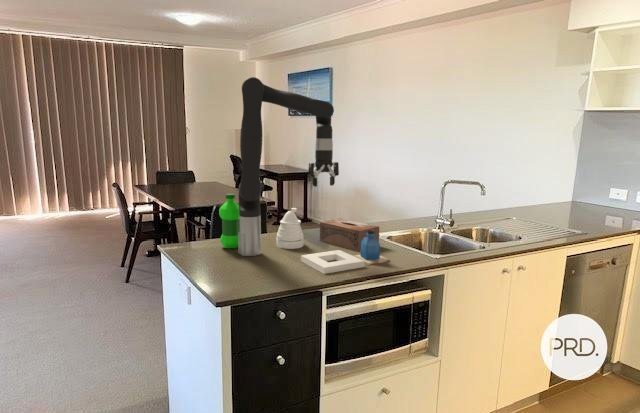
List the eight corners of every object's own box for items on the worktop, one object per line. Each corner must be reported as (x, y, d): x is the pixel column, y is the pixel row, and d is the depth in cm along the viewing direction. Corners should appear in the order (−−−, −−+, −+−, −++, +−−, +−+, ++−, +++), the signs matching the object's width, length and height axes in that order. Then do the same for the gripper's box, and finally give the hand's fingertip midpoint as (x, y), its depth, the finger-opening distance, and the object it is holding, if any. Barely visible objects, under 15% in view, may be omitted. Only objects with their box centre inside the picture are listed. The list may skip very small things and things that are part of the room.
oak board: (367, 265, 183) (367, 263, 183) (350, 257, 193) (350, 255, 193) (390, 261, 189) (390, 259, 189) (372, 254, 199) (373, 252, 199)
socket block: (324, 273, 171) (324, 267, 170) (300, 261, 187) (301, 255, 186) (364, 266, 180) (364, 261, 180) (339, 255, 196) (339, 249, 196)
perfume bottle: (366, 260, 187) (366, 232, 185) (360, 256, 193) (361, 229, 191) (379, 259, 189) (380, 231, 187) (373, 255, 194) (374, 228, 192)
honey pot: (305, 242, 218) (305, 206, 215) (301, 249, 205) (301, 211, 202) (279, 241, 219) (279, 205, 216) (274, 248, 207) (273, 210, 204)
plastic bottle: (230, 251, 200) (229, 196, 196) (215, 247, 206) (213, 194, 202) (247, 247, 208) (246, 194, 204) (231, 243, 214) (230, 192, 210)
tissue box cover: (378, 246, 213) (379, 226, 211) (358, 252, 203) (359, 230, 202) (339, 237, 231) (340, 218, 230) (319, 241, 221) (320, 221, 220)
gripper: (333, 148, 201) (332, 184, 203) (305, 148, 194) (305, 185, 196) (342, 149, 194) (341, 186, 197) (314, 149, 187) (313, 187, 190)
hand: (323, 185), depth 197 cm, fingers open, 8 cm apart
